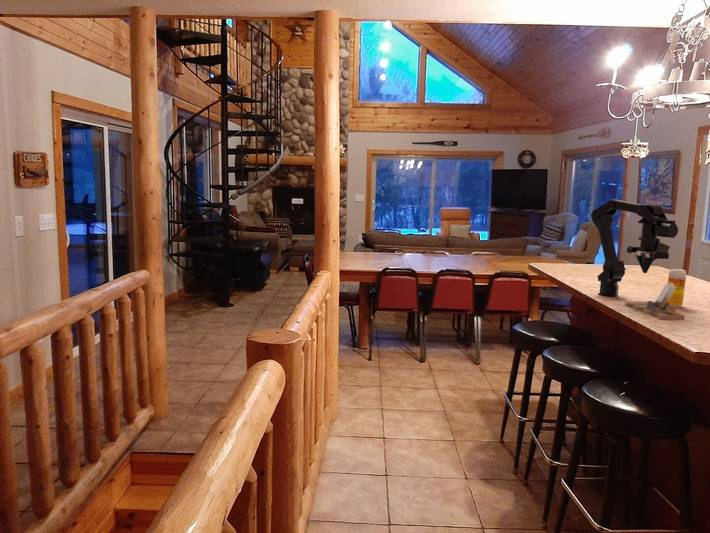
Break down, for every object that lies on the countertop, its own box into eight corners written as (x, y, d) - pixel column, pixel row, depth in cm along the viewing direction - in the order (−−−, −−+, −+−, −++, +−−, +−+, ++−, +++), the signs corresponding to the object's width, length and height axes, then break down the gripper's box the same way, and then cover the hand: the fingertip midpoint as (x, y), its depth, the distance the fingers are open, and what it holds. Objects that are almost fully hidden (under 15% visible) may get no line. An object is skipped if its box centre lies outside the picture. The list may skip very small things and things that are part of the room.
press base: (624, 305, 216) (625, 293, 215) (645, 305, 217) (646, 293, 216) (661, 319, 195) (663, 306, 194) (684, 319, 196) (685, 306, 195)
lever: (651, 305, 204) (665, 283, 197) (659, 305, 204) (673, 283, 197) (654, 309, 202) (668, 287, 195) (663, 309, 203) (677, 287, 195)
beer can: (673, 308, 213) (678, 271, 211) (661, 304, 219) (665, 268, 217) (685, 307, 215) (690, 271, 213) (673, 303, 221) (677, 268, 218)
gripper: (683, 238, 207) (679, 277, 209) (652, 233, 225) (648, 269, 228) (657, 237, 205) (652, 277, 208) (627, 232, 224) (623, 269, 226)
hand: (644, 272), depth 218 cm, fingers closed
